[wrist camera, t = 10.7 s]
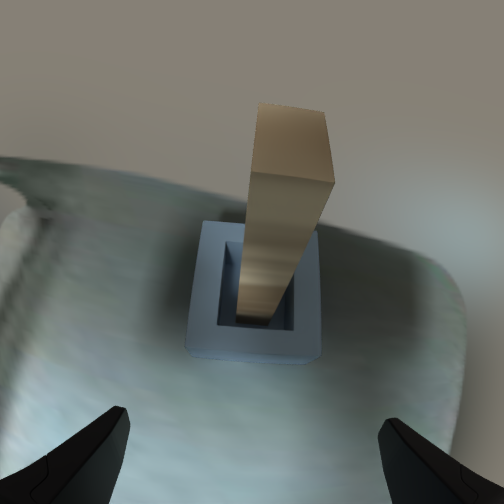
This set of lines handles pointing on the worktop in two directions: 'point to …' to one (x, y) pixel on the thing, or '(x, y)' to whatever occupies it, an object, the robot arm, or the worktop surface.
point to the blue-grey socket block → (226, 296)
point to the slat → (281, 204)
